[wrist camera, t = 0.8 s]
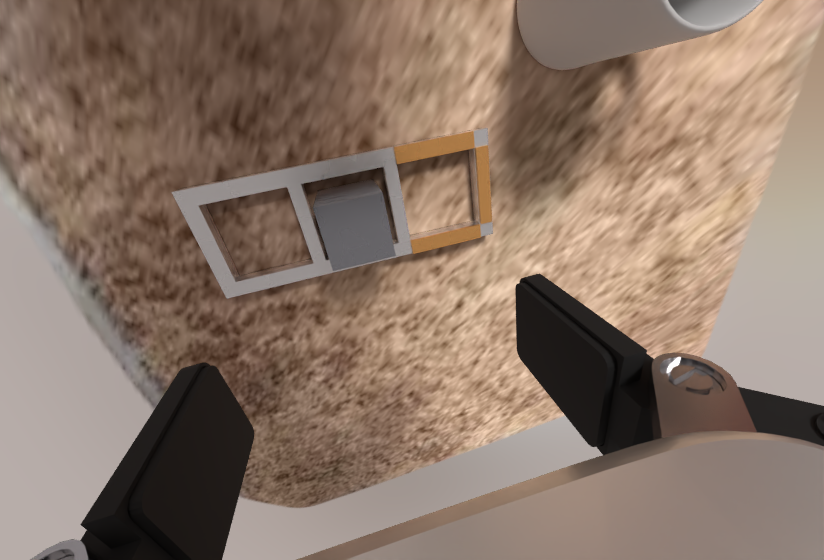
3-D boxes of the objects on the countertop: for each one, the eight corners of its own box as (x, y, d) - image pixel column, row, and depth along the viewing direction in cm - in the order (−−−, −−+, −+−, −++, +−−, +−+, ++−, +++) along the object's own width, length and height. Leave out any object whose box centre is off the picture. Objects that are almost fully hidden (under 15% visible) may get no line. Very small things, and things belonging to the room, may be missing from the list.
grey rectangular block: (317, 190, 25) (312, 207, 19) (372, 178, 25) (382, 192, 20) (333, 242, 27) (333, 271, 21) (384, 230, 27) (395, 255, 22)
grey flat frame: (179, 189, 23) (170, 192, 21) (481, 127, 25) (488, 128, 24) (231, 291, 27) (226, 299, 25) (487, 229, 29) (493, 234, 28)
